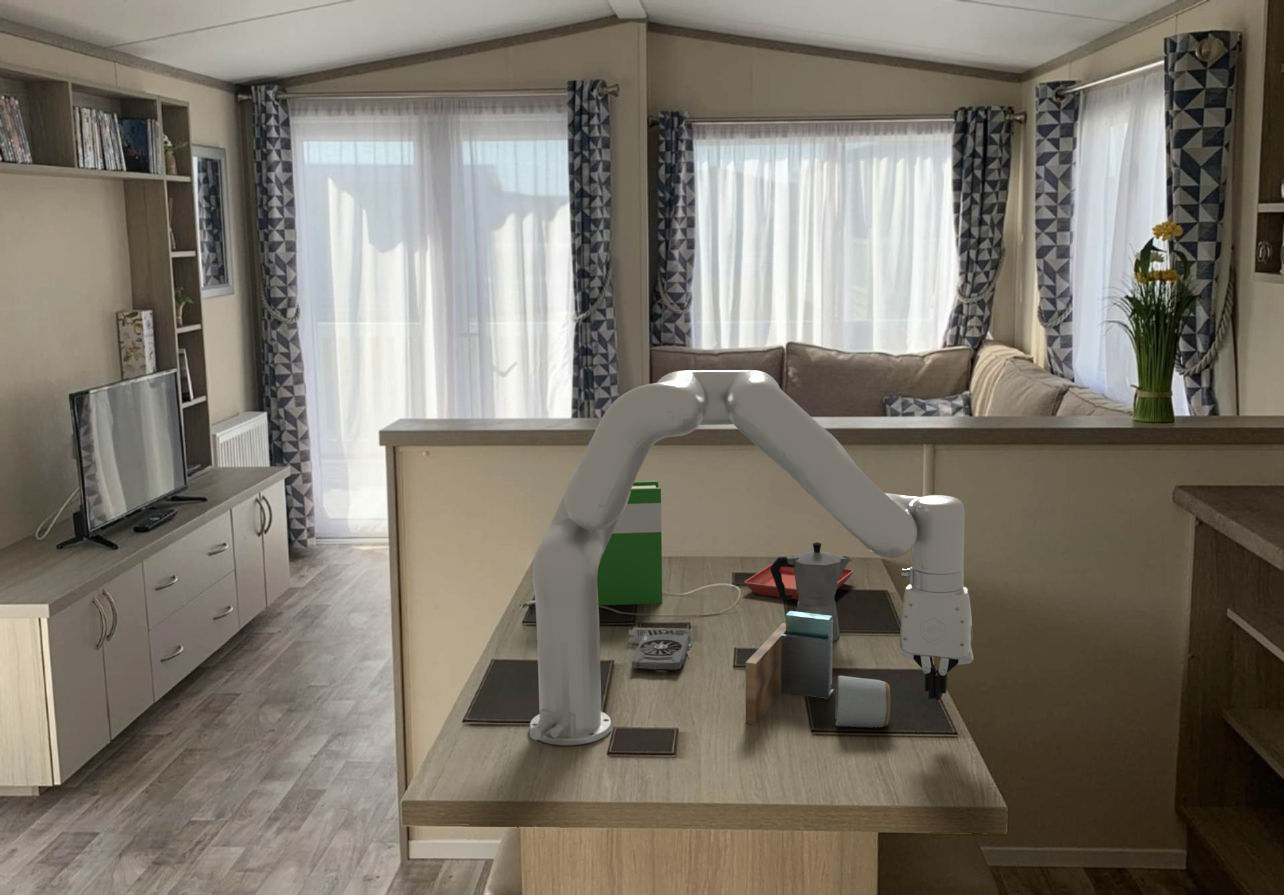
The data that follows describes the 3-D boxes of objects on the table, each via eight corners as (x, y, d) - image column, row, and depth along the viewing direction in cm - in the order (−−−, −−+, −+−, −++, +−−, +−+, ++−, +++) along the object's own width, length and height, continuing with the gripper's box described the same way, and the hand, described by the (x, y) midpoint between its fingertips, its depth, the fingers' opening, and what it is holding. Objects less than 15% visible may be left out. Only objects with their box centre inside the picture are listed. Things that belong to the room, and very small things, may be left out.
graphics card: (629, 625, 231) (693, 626, 229) (630, 644, 232) (694, 645, 230) (614, 658, 215) (683, 659, 213) (615, 678, 215) (684, 679, 213)
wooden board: (755, 724, 193) (755, 663, 191) (745, 723, 193) (745, 662, 192) (791, 680, 211) (791, 623, 209) (782, 678, 211) (782, 622, 210)
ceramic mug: (890, 735, 188) (892, 687, 187) (836, 733, 189) (837, 685, 188) (884, 709, 199) (885, 663, 197) (832, 707, 200) (833, 661, 198)
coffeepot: (841, 625, 239) (843, 534, 235) (857, 641, 229) (859, 547, 226) (763, 630, 236) (764, 538, 233) (776, 646, 227) (777, 551, 224)
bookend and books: (828, 699, 202) (829, 623, 200) (781, 692, 205) (781, 617, 203) (837, 686, 208) (838, 612, 205) (791, 680, 211) (791, 607, 208)
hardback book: (659, 592, 261) (657, 480, 256) (662, 603, 254) (660, 488, 249) (575, 595, 260) (572, 483, 255) (575, 606, 252) (572, 490, 248)
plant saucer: (742, 596, 259) (742, 580, 258) (776, 573, 274) (776, 559, 273) (824, 608, 250) (825, 592, 249) (854, 584, 265) (855, 569, 265)
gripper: (881, 582, 183) (881, 699, 187) (985, 591, 177) (983, 712, 181) (892, 568, 190) (891, 681, 193) (992, 576, 184) (990, 693, 188)
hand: (935, 696), depth 187 cm, fingers closed
